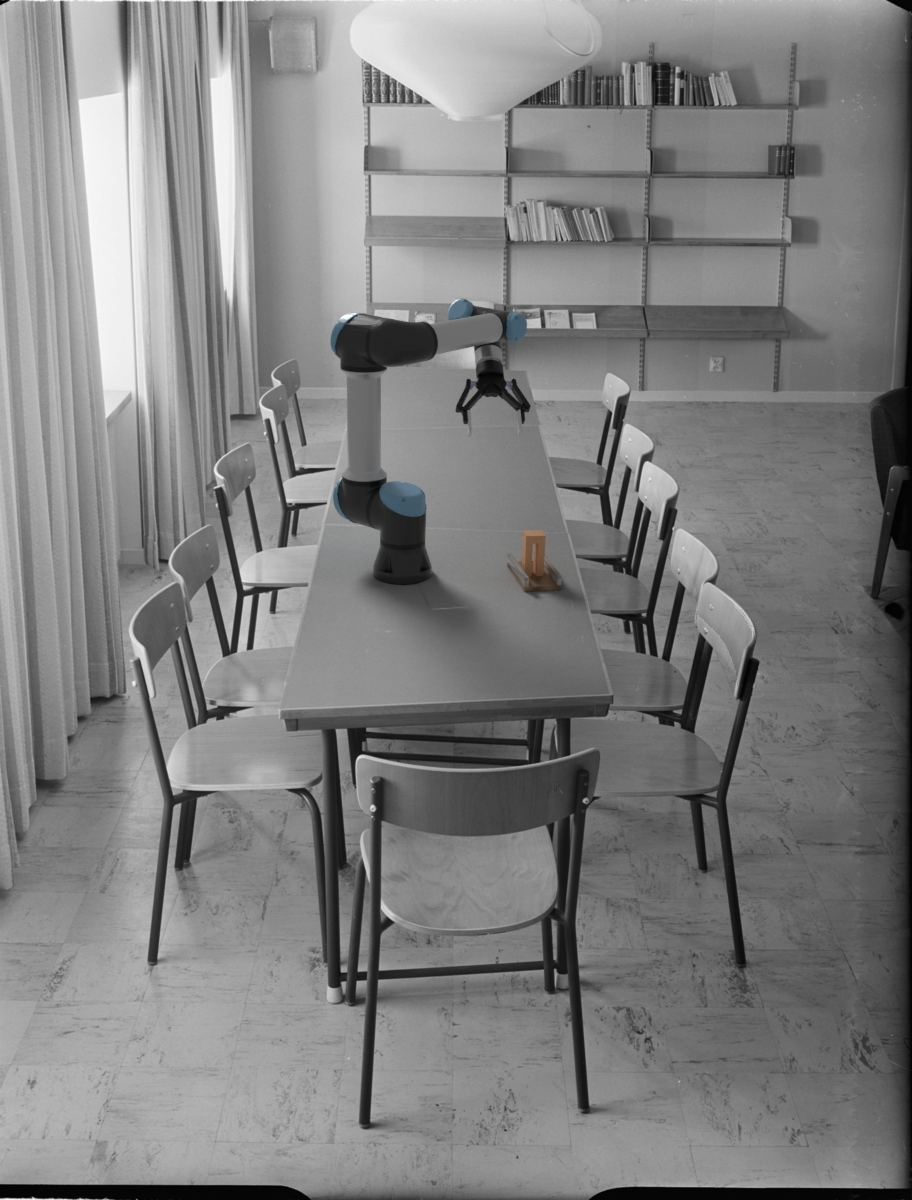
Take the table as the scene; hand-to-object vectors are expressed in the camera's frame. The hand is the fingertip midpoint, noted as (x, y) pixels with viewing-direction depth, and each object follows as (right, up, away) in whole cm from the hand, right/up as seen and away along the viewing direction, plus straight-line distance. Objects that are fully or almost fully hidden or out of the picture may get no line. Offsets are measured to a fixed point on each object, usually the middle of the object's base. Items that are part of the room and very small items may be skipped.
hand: (495, 433), depth 319 cm
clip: (+9, -38, -10) cm, 40 cm away
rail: (+10, -39, -10) cm, 41 cm away
